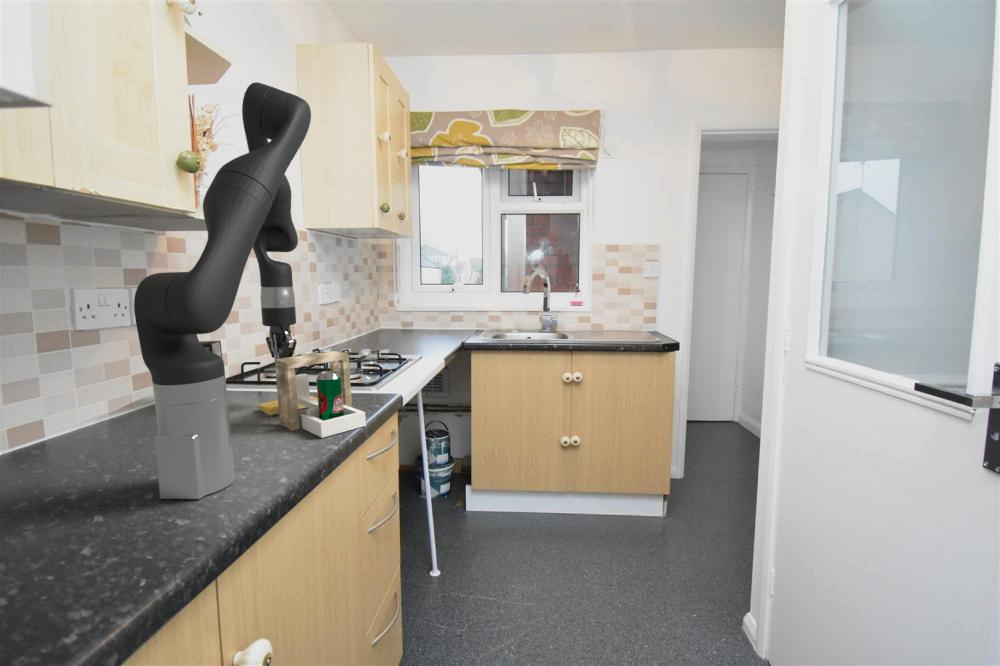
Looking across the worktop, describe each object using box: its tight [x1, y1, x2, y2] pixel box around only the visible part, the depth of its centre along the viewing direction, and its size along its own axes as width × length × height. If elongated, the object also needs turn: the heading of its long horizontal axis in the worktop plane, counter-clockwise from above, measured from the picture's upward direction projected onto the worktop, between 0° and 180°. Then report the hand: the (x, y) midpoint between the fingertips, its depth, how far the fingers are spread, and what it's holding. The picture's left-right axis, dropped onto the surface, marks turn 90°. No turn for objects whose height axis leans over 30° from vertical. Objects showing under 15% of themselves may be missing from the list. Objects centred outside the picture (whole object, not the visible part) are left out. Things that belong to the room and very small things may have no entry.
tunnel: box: [274, 350, 353, 432], centre depth 104 cm, size 14×6×15 cm, turn 137°
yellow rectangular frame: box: [258, 395, 318, 417], centre depth 115 cm, size 12×7×2 cm, turn 137°
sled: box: [295, 373, 367, 438], centre depth 103 cm, size 10×22×9 cm, turn 47°
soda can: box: [315, 370, 344, 421], centre depth 99 cm, size 5×5×12 cm
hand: (283, 375), depth 115 cm, fingers closed
